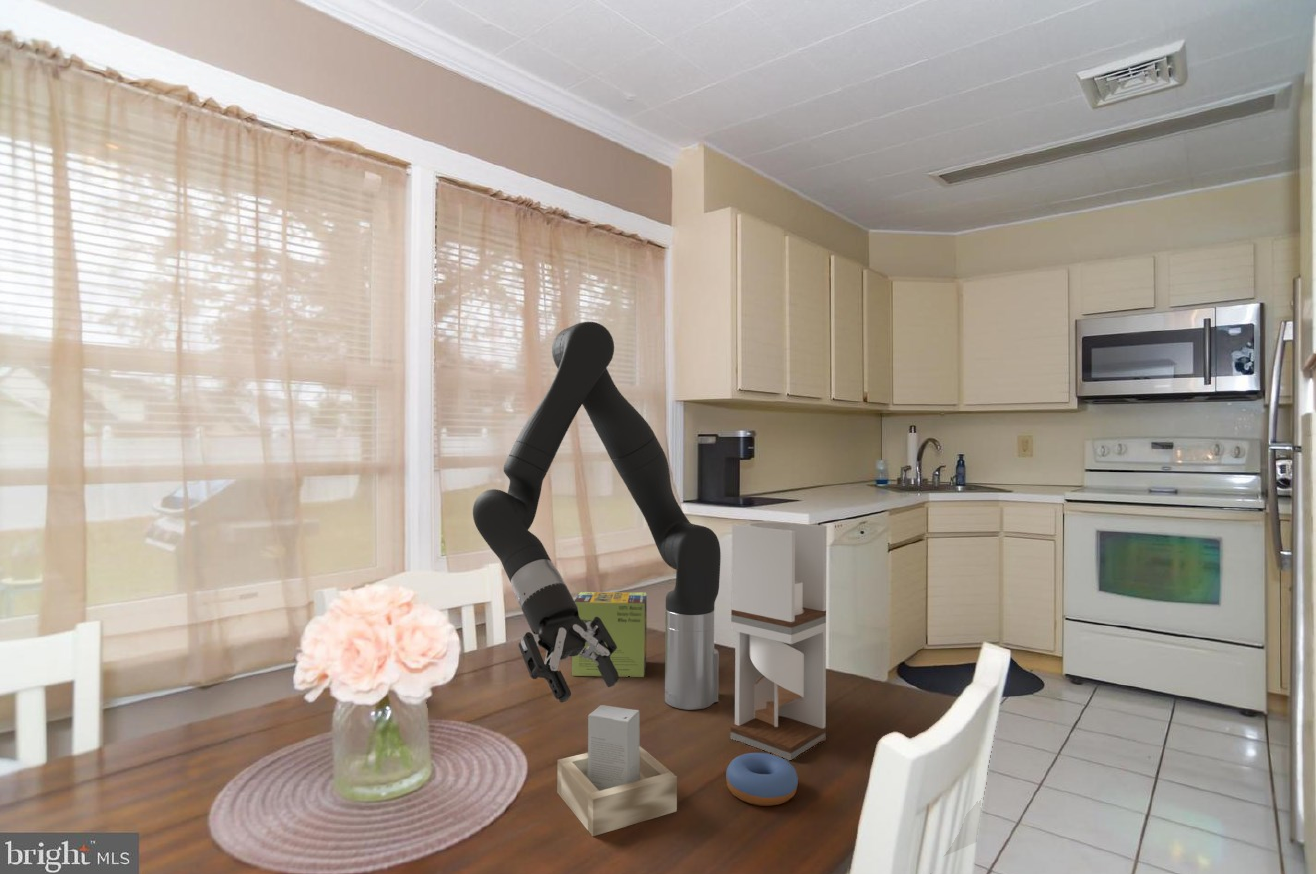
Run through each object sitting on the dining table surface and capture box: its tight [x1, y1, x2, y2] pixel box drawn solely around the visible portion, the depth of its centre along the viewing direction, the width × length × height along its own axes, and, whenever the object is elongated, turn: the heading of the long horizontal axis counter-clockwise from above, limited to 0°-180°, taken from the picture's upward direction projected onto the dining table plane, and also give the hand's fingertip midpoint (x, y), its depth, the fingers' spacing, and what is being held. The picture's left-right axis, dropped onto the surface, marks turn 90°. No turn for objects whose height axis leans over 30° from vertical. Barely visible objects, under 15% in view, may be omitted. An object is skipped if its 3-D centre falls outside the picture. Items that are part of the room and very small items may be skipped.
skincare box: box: [587, 704, 641, 791], centre depth 91 cm, size 6×4×12 cm
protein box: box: [571, 591, 648, 678], centre depth 146 cm, size 10×15×16 cm
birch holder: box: [556, 746, 678, 837], centre depth 91 cm, size 12×12×4 cm
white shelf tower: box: [730, 520, 828, 761], centre depth 111 cm, size 11×11×35 cm
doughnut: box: [725, 752, 799, 807], centre depth 95 cm, size 10×10×5 cm
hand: (591, 691), depth 95 cm, fingers open, 8 cm apart
